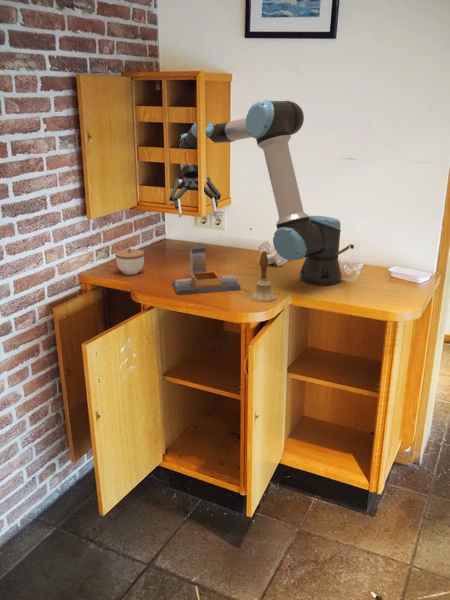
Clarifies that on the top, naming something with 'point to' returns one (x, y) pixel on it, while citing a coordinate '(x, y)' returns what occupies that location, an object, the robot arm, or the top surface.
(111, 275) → the top surface
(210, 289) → the base
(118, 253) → the lidded jar
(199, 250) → the block
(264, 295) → the hand bell
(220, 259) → the top surface
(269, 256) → the mounting bracket
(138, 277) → the top surface
